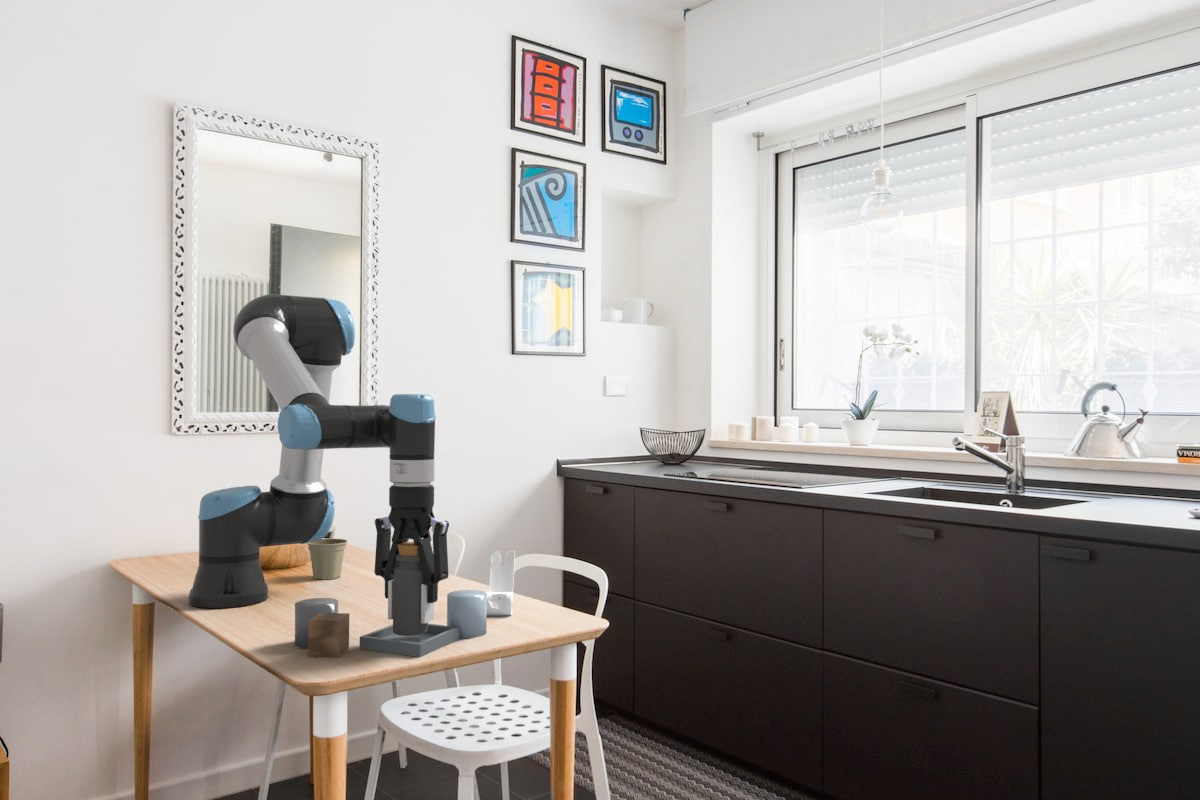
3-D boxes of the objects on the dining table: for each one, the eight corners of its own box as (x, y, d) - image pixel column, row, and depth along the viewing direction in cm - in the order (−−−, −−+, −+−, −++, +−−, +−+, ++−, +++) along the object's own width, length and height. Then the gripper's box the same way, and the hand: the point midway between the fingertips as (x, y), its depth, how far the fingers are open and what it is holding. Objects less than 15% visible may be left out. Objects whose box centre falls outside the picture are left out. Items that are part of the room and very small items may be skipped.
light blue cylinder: (439, 635, 152) (439, 596, 152) (460, 626, 159) (460, 588, 159) (473, 639, 149) (473, 599, 149) (493, 630, 156) (493, 591, 156)
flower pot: (356, 576, 206) (356, 540, 206) (324, 583, 198) (324, 545, 198) (329, 572, 211) (330, 537, 211) (297, 578, 203) (298, 542, 203)
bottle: (410, 637, 143) (412, 547, 143) (385, 632, 146) (386, 544, 146) (434, 630, 148) (436, 543, 148) (410, 625, 151) (411, 539, 151)
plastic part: (472, 617, 166) (472, 557, 166) (478, 605, 176) (478, 548, 176) (511, 617, 166) (511, 557, 166) (515, 605, 176) (515, 548, 176)
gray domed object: (285, 646, 145) (285, 604, 145) (314, 636, 151) (314, 596, 151) (318, 650, 142) (319, 608, 142) (346, 640, 149) (346, 600, 149)
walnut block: (308, 657, 138) (308, 620, 138) (319, 649, 143) (319, 613, 143) (338, 658, 138) (339, 620, 138) (349, 649, 143) (349, 613, 143)
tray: (359, 648, 143) (359, 636, 143) (402, 631, 154) (402, 620, 154) (420, 656, 139) (420, 644, 139) (459, 638, 150) (459, 627, 150)
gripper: (352, 483, 147) (351, 619, 147) (447, 488, 140) (446, 630, 140) (379, 480, 154) (378, 609, 154) (471, 484, 147) (470, 620, 147)
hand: (410, 619), depth 147 cm, fingers open, 6 cm apart
